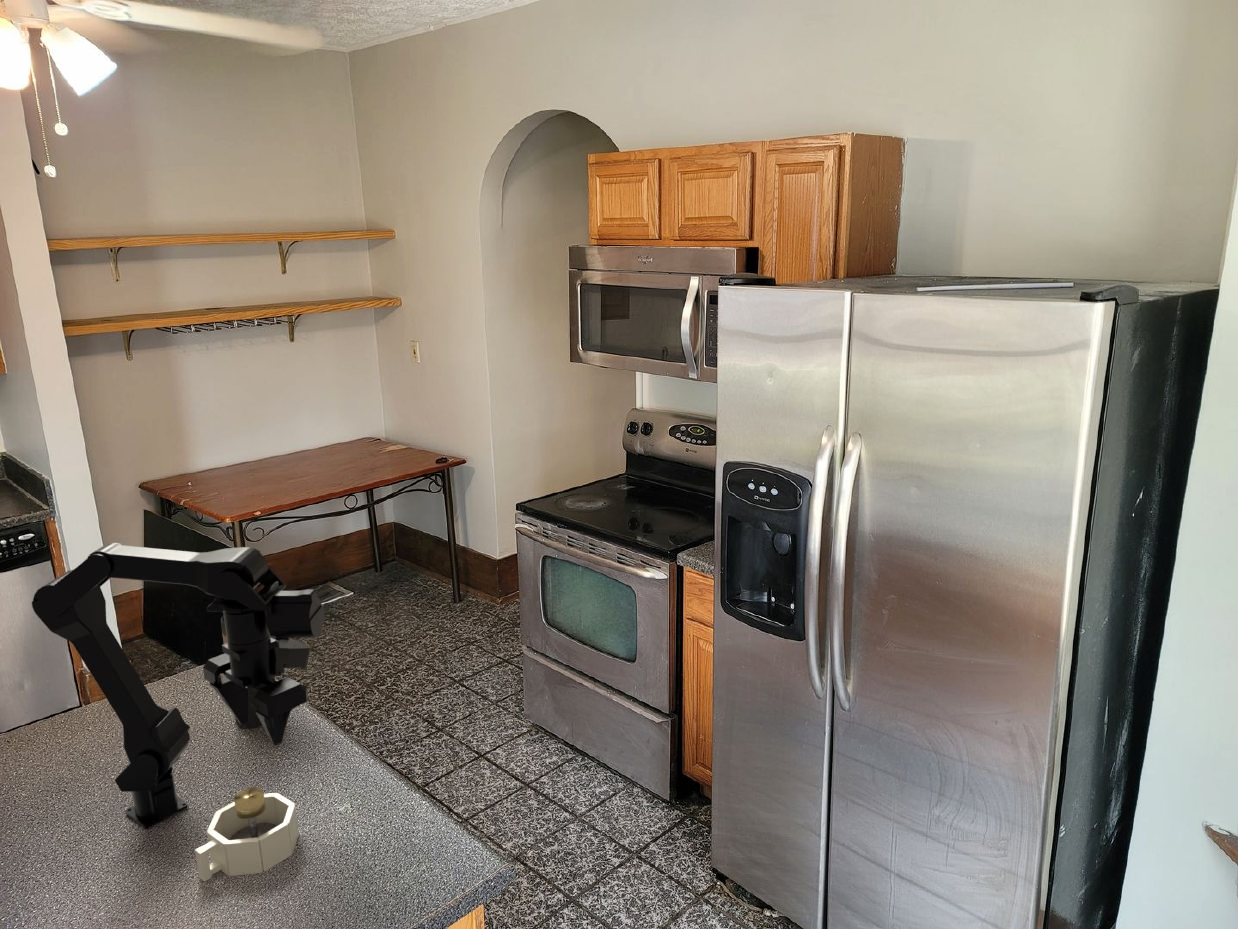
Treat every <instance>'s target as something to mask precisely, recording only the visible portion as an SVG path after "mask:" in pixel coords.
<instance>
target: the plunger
mask: <svg viewBox="0 0 1238 929" xmlns="http://www.w3.org/2000/svg"><path fill="white" fill-rule="evenodd" d="M264 794H265V793H264V789H263V788H261V787H258V786H252V787H246V788H243V789H241V790H240V791H238V792H237V793H236V794H235V796H234V798H233V800H234V801H233V802H235V808H236V815H237V817H239V818H242V819H248V821H249V826H247V827H244V828H242V829H240V830H239V831H237V832H236V833H235V834H234V835H233V836H232V837H231V838H230V840H238V839H248V838H257V837H260V836H261V835H263V834H265V833H267V832H268V831H270V830H272V829H273V828H275V827H277V825H275V824H272V823H257V822H256V816H258V815H260V814H261V813H262V812H263V811H264V810H265V799H264Z"/></svg>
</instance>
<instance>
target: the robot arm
mask: <svg viewBox="0 0 1238 929" xmlns="http://www.w3.org/2000/svg"><path fill="white" fill-rule="evenodd" d="M111 578H112V579H123V580H131V581H144V582H152V583H153V582H154V583H163V584H173V585H183V586H184V585H185V586H186V585H187V586H191V587H195V588H198V589H199V590H201V591H203V592H204V593H205V594H206V595H209V596H213V597H215V598H214V600H212V601H213V602H211V603H210V604H209V605H208V606H207V607H206V610H207V612H209V613H210V612H211V613H212V612H213V613H214V612H222V613H223V615H224V621H225V628H226V636H227V644H224V643H223V644H222V645H221V650H222V652H223V654H219V655H218V656H215V657H211V658H208V659H207V661H206V662H205V663H204V665H203V667H202V670H203V677H204V679H205V680H206V681H207V682H209V686H210V687H211V688H213V690H214V691H215V692H216V694H217V695H218V696H219V697H220V699H221V700H222V701H223V703H224V704H225V705H226V706H227V708H228V709H229V711H230V712H231V713H232V714H233V716H234V718H235V717H236V719H237V720H238V722H239V723H240V724H241V725H243V724H245V723H247V722H248V717H249V691H248V688H249V687H253V688H255V689H256V690H258V691H257V693H256V695H255V696H254V703H255V706H256V708H257V709H258V710H256V711H255V712H256V714H257V716H258V718H259V720H260V721H261V723H262V725H263V726H262V727H263V729H264V730H265V732H266V734H267V736H268V738H269V740H270V741H271V743H272V745H273V746H275V747H276V746H278V745H280V744H282V743H283V739H284V737H285V736H284V735H285V732H286V728H287V724H288V719H289V718H290V714H291V712H292V710H294V709H295V708H298V707H299V706H301V705H303V704H305V703H307V702H308V700H309V692H308V686H305V685H304V684H302V683H300V682H298V681H296V680H295V679H293V678H291V677H288V676H287V677H283V678H281V679H278V680H276V679H275V680H274V679H272V676H273V675H275V677H276V676H277V677H278V676H279V675H281V674H284V673H285V670H284V669H292V668H295V669H296V668H300V669H303V670H304V669H307V668H308V664H309V659H310V655H311V649H312V646H310V645H308V644H306V643H304V642H303V641H301V640H300V641H299V640H297V638H319V637H320V636H321V634H322V631H323V627H324V623H325V608H324V607H325V606H324V605H323V604H322V600H321V599H320V597H318V596H317V590H316V589H314V588H313V589H311V588H307V589H302V590H284V589H285V588H286V587H287V585H286V583H285V581H283V579H282V578H281V577H280V576H279V575H278V574H277V573H276V572H275V570H273V568H271V567H270V565H269V564H268V562H267V559H266V556H264V555H263V553H261V550H258V549H257V548H254V547H250V546H242V547H241V546H240V547H230V548H229V547H228V548H227V547H226V548H223V549H222V548H221V549H218V550H217V549H216V550H212V551H208V552H207V551H203V552H196V551H187V550H184V551H183V550H175V549H167V548H165V549H163V548H155V547H154V548H153V547H145V546H134V545H124V544H122V543H120V542H109V543H106V544H104V545H102V546H100V548H99V547H98V548H97V549H96V550H94V551H93V552H91V553H90V554H88V556H87V558H86V559H84V561H83V562H81V563H80V564H79V565H78V566H76V567H75V568H74V569H70V570H67V571H66V572H64V573H63V574H61V575H59V576H58V577H56V578H54V579H53V580H51V581H49V582H48V583H46V584H45V585H43V586H41V587H40V588H38V589H37V590H36V592H35V593H34V596H33V599H32V601H31V607H32V610H33V612H34V614H35V615H36V616H37V618H39V620H40V621H41V622H42V623H43V624H44V625H45V626H46V628H47V629H48V630H49V631H50V632H51V633H53V634H55V635H56V636H59V637H60V638H63V639H65V640H66V641H69V642H70V643H71V645H73V647H74V649H75V651H76V652H77V654H78V655H79V657H80V659H81V660H82V662H83V664H84V665H85V667H86V668H87V670H88V671H89V673H90V674H91V676H92V678H93V679H94V681H95V683H96V684H97V686H98V688H99V689H100V691H101V692H102V694H103V695H104V697H105V699H106V701H107V702H108V704H109V705H110V707H111V709H112V711H114V713H115V715H116V717H117V718H118V720H119V721H120V723H121V726H122V732H123V734H122V736H123V738H122V739H123V751H124V752H125V754H126V757H127V759H128V763H129V764H127V765H126V766H125V768H124V769H123V770H122V771H121V772H120V773H119V775H118V776H117V777H116V778H114V783H115V784H116V786H117V787H118V788H119V790H120V791H121V792H122V793H124V792H125V793H126V792H129V793H130V792H131V795H132V796H131V797H132V801H133V802H132V803H133V805H132V806H130V807H129V808H127V809H126V810H125V814H126V815H127V816H128V817H130V818H131V819H132V820H133V821H135V822H136V823H138V825H140V826H142V827H143V828H144V829H149V828H151V827H153V826H155V825H157V824H159V823H160V822H162V821H164V820H166V819H169V818H170V817H172V816H174V815H176V814H178V813H180V812H181V811H183V810H185V809H187V808H188V807H189V805H188V802H187V801H185V800H184V799H181V798H180V797H179V796H178V795H177V790H176V783H175V777H174V772H173V771H174V770H173V766H174V764H175V763H176V762H177V761H179V759H180V758H181V755H182V754H183V753H184V751H185V750H186V749H187V748H188V747H189V744H190V741H191V737H190V732H189V730H190V729H191V727H190V725H189V724H187V723H186V721H185V720H184V719H183V717H182V715H181V711H180V710H179V709H178V708H177V707H172V708H171V709H170V710H168V709H166V708H163V707H161V706H159V705H158V704H157V703H155V701H154V699H153V697H152V696H151V694H150V693H149V691H148V689H147V687H146V686H145V684H144V683H143V681H142V679H141V677H140V676H139V675H138V673H137V671H136V670H135V668H134V665H132V663H131V661H130V659H129V658H128V656H127V654H126V653H125V651H124V649H123V648H122V646H121V644H120V643H119V641H118V639H117V638H116V636H115V634H114V633H113V631H112V630H111V629H110V626H109V624H108V622H107V606H106V605H107V603H106V601H107V600H106V599H105V596H104V593H103V591H102V589H101V587H102V586H103V585H104V584H105V583H107V582H108V581H109V580H110V579H111ZM259 585H262V586H263V587H262V588H261V589H260V591H258V592H257V591H256V590H255V589H256V588H257V587H258V586H259ZM293 638H294V639H293ZM295 638H296V639H295Z"/></svg>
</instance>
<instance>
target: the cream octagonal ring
mask: <svg viewBox="0 0 1238 929" xmlns="http://www.w3.org/2000/svg"><path fill="white" fill-rule="evenodd" d="M264 799H265V810H264V811H263V812H262V813H261V814H260V815H258V816H256V822H257V823H272V824H275V825H277V827H275V828H273V829H272V830H270V831H268V832H267V833H265V834H263V835H261V836H260V837H257V838H248V839H238V840H230V838H231V837H232V836H233V835H234V834H235V833H236V832H237V831H239V830H240V829H242V828H244V827H247V826H249V821H248V819H242V818H239V817H237V815H236V808H235V801H233V802H230V803H229V804H227V805H226V806H224V807H222V808H220V809H218V810H217V811H216V812H215V813H214V815H213V817H212V819H211V822H210V824H209V826H208V828H207V830H206V833H207V840H208V841H207V843H205V844H203V845H201V846H199V847H197V848H195V849H194V852H195V853H194V854H195V860H196V867H197V871H198V878H199V880H202V881H203V882H206V881H209V880H210V879H211V878H213V875H215V874H217V873H218V872H223V873H224V874H225V875H226V876H228V877H235V876H243V875H254V874H262V873H265V872H267V871H268V870H270V869H272V868H274V867H275V866H277V865H278V864H279V863H281V862H283V861H284V860H286V859H287V858H289V857H291V856H292V855H293V853H294V851H295V849H296V848H295V847H296V844H297V840H298V838H299V835H300V834H299V826H298V819H297V811H296V804H295V803H294V802H293V801H292V800H290V799H288V798H287V797H285V796H283V795H282V794H280V793H277V792H273V793H264ZM209 855H210V858H209ZM210 861H211V863H210Z"/></svg>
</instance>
